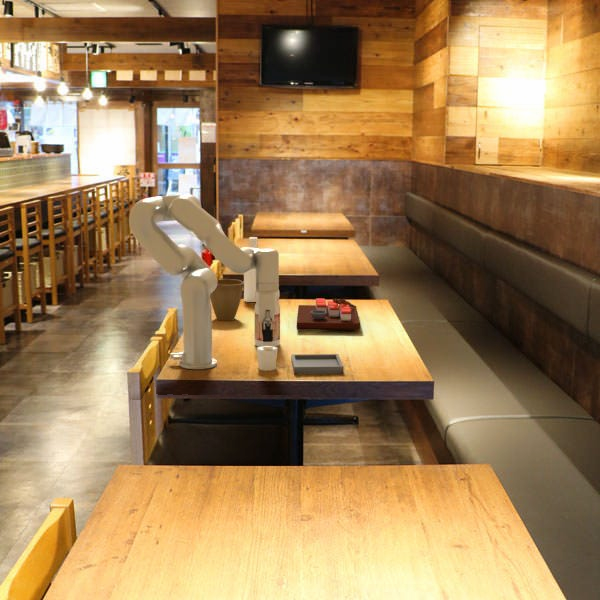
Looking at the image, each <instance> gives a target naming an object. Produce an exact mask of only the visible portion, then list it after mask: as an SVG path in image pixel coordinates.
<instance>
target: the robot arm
mask: <svg viewBox="0 0 600 600" xmlns="http://www.w3.org/2000/svg"><path fill="white" fill-rule="evenodd" d="M171 221H172V222H173V221H176V222H177V223H178V224H179V225H181V226H182V227H183V228H184V229H186V231H188V232H189V233H190V234H192V235H193V236H194V237H196V238H197V239H198V240H199V241H200V242H201V243H202V244H203V245H204V247H205V248H206V249H207V250H208V251H209V253H210V254H211V255H212V256H213V257H215V259H216V260H217V261H219V262H220V263H222V265H224V266H225V268H227V269H229V270H230V271H231V272H233V273H235V274H238V275H239V274H241V275H242V274H244V273H245V272H247V271H249V270H251V269H256V292H258V293H259V322H260V323H261V322H263V323H262V335H263V342H272V341H273V329H272V323H273V322H274V314H275V293H276V292H280V289H279V287H280V285H279V282H280V278H279V277H280V274H279V272H280V271H279V270H280V269H279V268H280V265H279V263H280V261H279V259H280V257H279V254H280V253H279V251H278V250H277V249H275V248H258V249H256V248H250V247H249V246H244V247H239V246H237V245H236V243H234V242H232V240H230V239H229V238H228V236H227V235H226V234H225V232H224V231H223V227H222V224H220V222H219V221H218V219H217V218H215V217H213V216H212V215H211V214H210V213H208V212H207V211H206V210H205V209H204V208H202V204H201V201H200V200H199V198H197V197H196V196H195V195H193V194H186V193H185V194H180V195H163V196H162V195H161V196H152V197H146V198H143V199H140V200H138V201H137V202H136V203H134V205H133V206H132V208H131V210H130V212H129V217H128V224H129V228H130V231H131V233H132V236H133V237H134V238H135V240H136V241H137V242H138V243H139V244H140V245H141V246H142V247H143V248H144V250H146V252H147V253H148V254H149V256H151V257H152V258H153V260H154V261H155V262H156V263H157V264H158V265H159V266H160V267H161V268H162V269H163V271H164V272H165V273H166V274H168V275H169V276H173V277H176V276H181V278H182V281H181V284H180V299H181V305H182V307H181V308H182V329H183V331H182V333H183V334H182V337H183V338H182V339H183V344H182V345H183V350H182V351H180V352H177V353H176V352H170V353H169V356H170V357H169V358H170V359H172V360H173V361H174V360H175V361H177V360H180V361H178V365H179V367H181V368H183V369H187V370H188V369H189V370H206V369H211V368H214V367H215V366H217V365H218V360H217V359H215V358H213V320H212V319H213V318H212V317H213V316H212V315H213V314H212V303H211V298H210V294H211V293H212V292H213V291H214V290H215V289H216V287H217V279H218V278H217V275H216V273H215V271H214V270H213V269H212V268H211V267H210V266H209V265H208V264H207V262H206V261H205V260H204V259H203V258H202V257H201V256H200V255H199V254H198V252H196V251H195V250H194V249H193V248H192V247H190V246H189V245H186V244H181V243H180V244H176V242H175V241H173V240H172V239H171V238H170V236H169V235H168V234H167V233H166V231H163V230H162V229H161V228H160V227H159V226H158V225H157V223H160V222H161V223H162V222H171Z"/></svg>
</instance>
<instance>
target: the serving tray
mask: <svg viewBox="0 0 600 600" xmlns="http://www.w3.org/2000/svg"><path fill="white" fill-rule="evenodd" d="M290 357H291V366H292V371H293V375H294V376H295V375H298V376H299V375H300V376H301V375H344V369H345V367H344V364H343V362H342V361H341V360H342V359H341V357H340V355H339V354H338V353H313V354H312V353H310V354H309V353H307V354H306V353H305V354H304V353H303V354H300V353H299V354H296V353H295V354H293V353H292V354H291V356H290Z"/></svg>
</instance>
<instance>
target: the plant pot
mask: <svg viewBox="0 0 600 600" xmlns="http://www.w3.org/2000/svg"><path fill="white" fill-rule="evenodd" d="M243 291H244V280H243V281H242V280H240V279H233V278H231V279H230V278H221V279H220V278H217V287H216V289H215V290H214V291H213V292H212V293H211V294H210V302H211V307H212V309H213V312H214V315H215V318H216V320H217V321H223V322H224V321H225V322H226V321H229V322H230V321H233V320H234V319H235V318H236V316H237V313H238V309H239V306H240V303H241V299H242V294H243Z"/></svg>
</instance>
